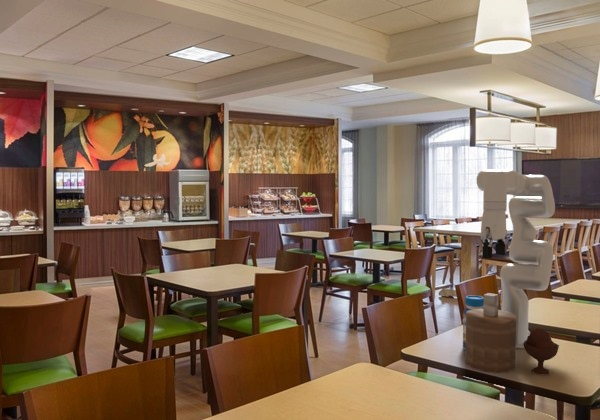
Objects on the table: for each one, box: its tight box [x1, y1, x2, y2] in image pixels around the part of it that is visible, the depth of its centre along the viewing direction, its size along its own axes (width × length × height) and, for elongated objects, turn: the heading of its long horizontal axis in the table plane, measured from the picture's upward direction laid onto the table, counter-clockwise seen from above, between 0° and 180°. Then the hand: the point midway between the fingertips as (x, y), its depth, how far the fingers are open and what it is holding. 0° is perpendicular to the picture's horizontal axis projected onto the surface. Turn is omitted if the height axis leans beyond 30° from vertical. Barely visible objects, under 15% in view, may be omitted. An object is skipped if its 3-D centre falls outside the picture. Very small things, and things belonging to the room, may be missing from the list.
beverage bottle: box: [462, 294, 484, 351], centre depth 206 cm, size 8×8×20 cm
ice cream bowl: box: [523, 327, 560, 376], centre depth 182 cm, size 11×11×15 cm
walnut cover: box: [464, 292, 517, 374], centre depth 190 cm, size 17×17×24 cm
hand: (494, 256), depth 188 cm, fingers open, 9 cm apart
